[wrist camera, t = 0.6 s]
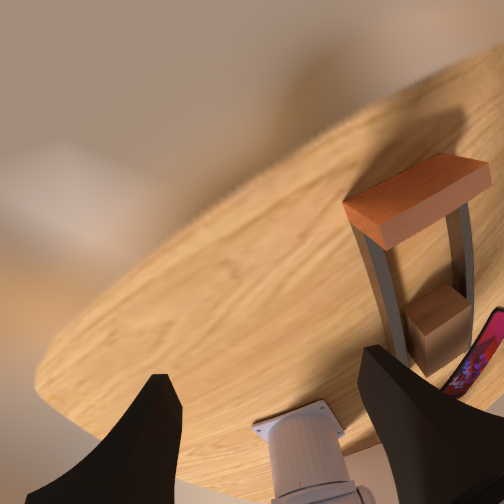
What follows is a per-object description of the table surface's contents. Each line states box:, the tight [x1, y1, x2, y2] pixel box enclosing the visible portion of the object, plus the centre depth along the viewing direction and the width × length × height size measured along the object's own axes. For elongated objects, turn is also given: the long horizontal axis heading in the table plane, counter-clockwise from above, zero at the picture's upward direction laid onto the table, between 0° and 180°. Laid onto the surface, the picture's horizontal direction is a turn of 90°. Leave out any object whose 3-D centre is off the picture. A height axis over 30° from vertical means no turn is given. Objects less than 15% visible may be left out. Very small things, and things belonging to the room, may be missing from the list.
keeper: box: [402, 282, 471, 378], centre depth 20 cm, size 6×5×4 cm
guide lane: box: [342, 153, 492, 368], centre depth 18 cm, size 20×9×5 cm, turn 27°
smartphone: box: [441, 308, 504, 399], centre depth 26 cm, size 8×1×15 cm
